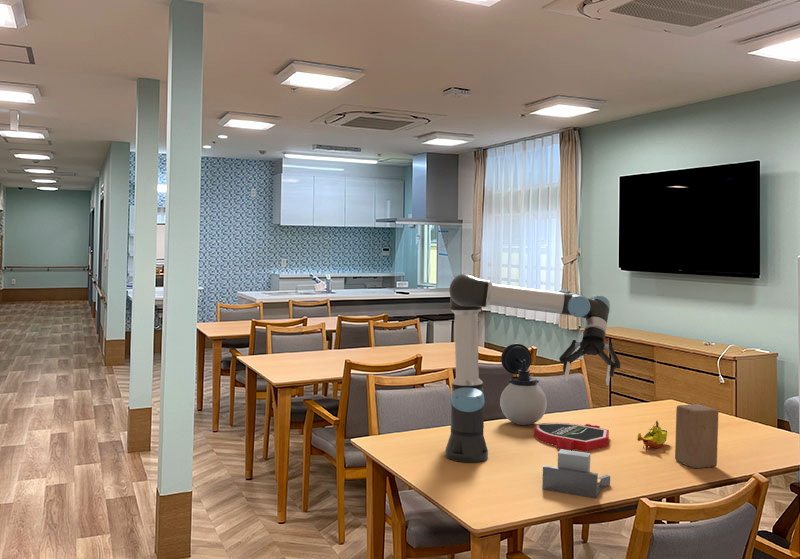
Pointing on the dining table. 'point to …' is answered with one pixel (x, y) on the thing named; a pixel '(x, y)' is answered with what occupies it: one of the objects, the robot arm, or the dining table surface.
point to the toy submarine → (654, 437)
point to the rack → (573, 481)
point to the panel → (574, 460)
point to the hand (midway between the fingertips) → (586, 381)
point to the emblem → (572, 436)
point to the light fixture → (521, 388)
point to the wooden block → (696, 435)
